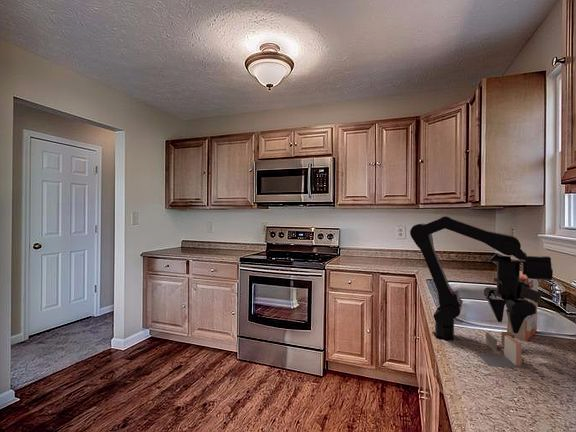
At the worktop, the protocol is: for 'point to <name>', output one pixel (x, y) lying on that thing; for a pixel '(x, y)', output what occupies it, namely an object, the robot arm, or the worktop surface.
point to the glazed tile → (512, 350)
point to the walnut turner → (493, 341)
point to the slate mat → (497, 360)
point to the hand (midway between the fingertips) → (507, 327)
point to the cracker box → (530, 321)
